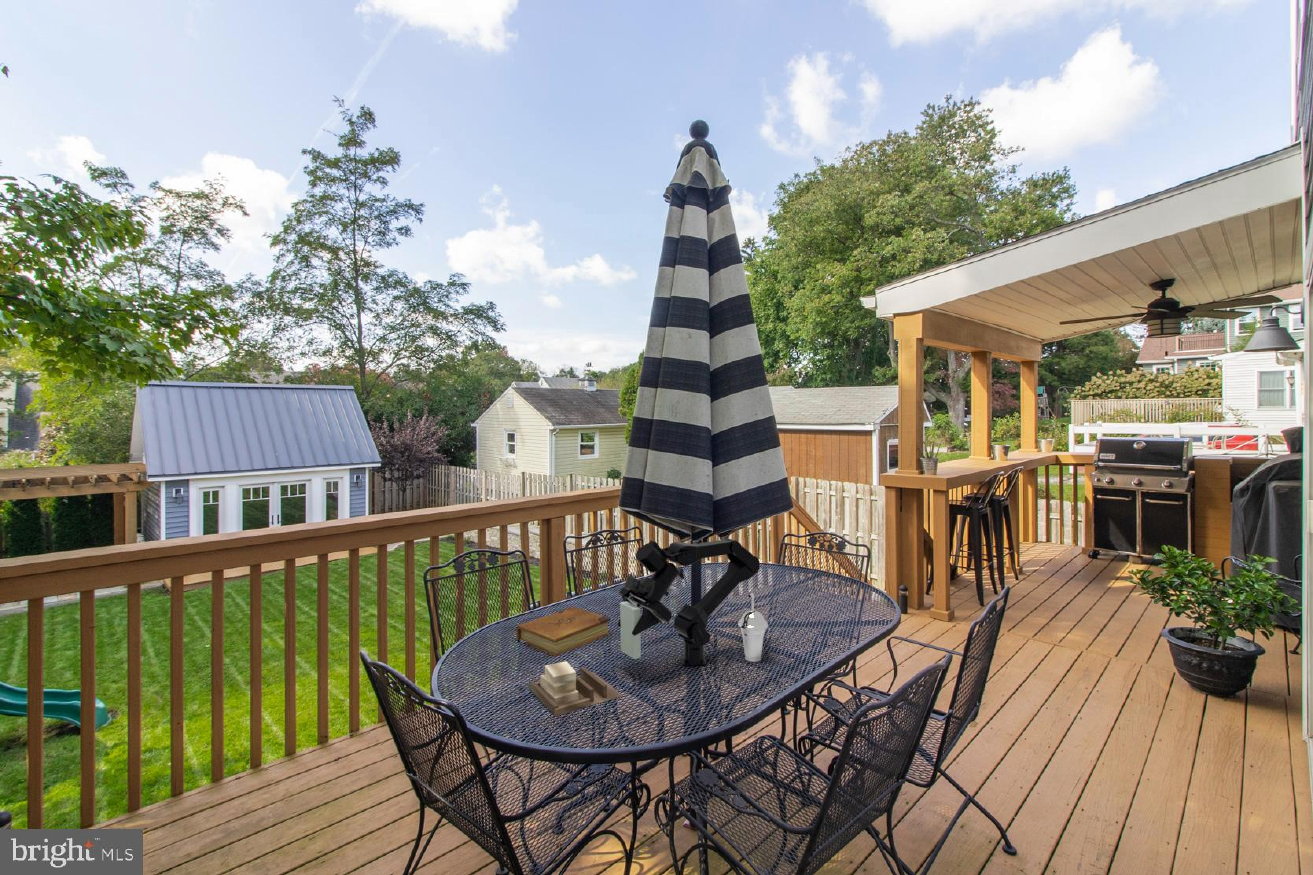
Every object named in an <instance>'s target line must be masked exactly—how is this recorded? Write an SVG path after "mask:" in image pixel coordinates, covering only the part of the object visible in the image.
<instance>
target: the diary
mask: <svg viewBox="0 0 1313 875" xmlns="http://www.w3.org/2000/svg"><path fill="white" fill-rule="evenodd" d="M611 620H612V619H611V617H608V616H605V615H602V614H599V613H595V612H592V611H588V610H586V609H583V608H579V607H576V606H572V607H568V608H566V609H563V610H560V611H558V612H554V613H551V614H548V615H545V616H543V617H540V618H536V619H534V620H531V621H530V620H529V621H528V622H525V623H522V624H519V625H517V627H516V630H515V631H516V641H517V640H520V639H521V640H525V641H526V643H525V642H524V643H525V644H528V645H530V646H532V647H531V648H533V649H535V648H537V649H536V650H538V649H539V650H538V651H540V650H541V651H540V652H542V651H544V652H543V653H545V652H547V653H549V654H548V655H550V656H552V655H554V656H553V657H557V656H556V655H558V656H559V655H563V654H565V653H568V652H571V651H573V650H575V649H578V648H580V647H582V646H585V645H588V644H590V643H592V641H593V642H595V641H598V640H600V639H603V638H606V637H608V636H610V635H612V632H611V631H609V625H608V624H609V622H611ZM609 634H610V635H609ZM607 635H608V636H607ZM602 637H603V638H602ZM597 639H598V640H597ZM594 640H595V641H594ZM525 644H524V645H525ZM528 645H527V646H528ZM530 646H529V647H530ZM567 651H568V652H567ZM564 652H565V653H564ZM547 653H546V654H547ZM562 653H563V654H562Z"/></svg>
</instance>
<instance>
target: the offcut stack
mask: <svg viewBox="0 0 1313 875" xmlns="http://www.w3.org/2000/svg"><path fill="white" fill-rule="evenodd" d="M576 675H577V672H576V670H575V669H574V668H573V667H572V666H571V664H570V663H569V662H568V661H561V662H557V663H552V664H551V663H550V664H547V665H544V673H543V674H541V675H540V677H539V679H540V680H539V681H540V685H541V689H542V690H543V691H544V692H545V693H546V694H547V695H548V696H549V697H550V698H551V699H552V700H553V701H554V702H555V703H556V704H557V705H558V706H563V705H566V704H569V703H573V702H576V701H578V691H577V690H576Z"/></svg>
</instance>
